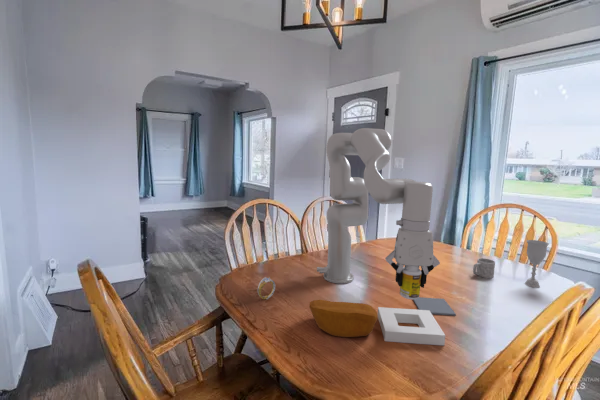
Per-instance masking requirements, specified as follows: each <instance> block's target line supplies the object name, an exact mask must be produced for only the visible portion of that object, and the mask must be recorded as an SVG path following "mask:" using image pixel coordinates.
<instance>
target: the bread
mask: <svg viewBox="0 0 600 400" xmlns="http://www.w3.org/2000/svg"><path fill="white" fill-rule="evenodd" d="M309 309H310V312H311V314H312V316H313V319H314V321H315V323H316V325H317V326H318V328H319V329H321V330H322V331H324V332H325V333H327V334H329V335H332V336H334V337H335V336H336V337H339V338H340V337H342V338H357V337H358V338H359V337H366V336H369V334H371V333H372V332H373V330H374V328H375V325H376V322H377V320H378V311H377V310H376V309H375V308H374V307H373V306H372V305H370V304H367V303H362V302H346V301H331V300H327V299H326V300H325V299H314V300H312V301H309Z"/></svg>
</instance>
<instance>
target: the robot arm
mask: <svg viewBox="0 0 600 400" xmlns="http://www.w3.org/2000/svg"><path fill="white" fill-rule="evenodd" d="M391 145H392V137H391V134H390V133H389V132H388V131H387V130H386V129H382V128H371V127H362V128H358V129H357V130H354V131H353V132H336V133H333V134H331V135H330V136H329V138H328V139H327V142H326V148H325V150H326V157H327V159H328V160H327V161H328V165H329V192H330V197H331V199H332V200H335V201H352V203H337V204H332V205H329V207H328V208H327V211H326V221H327V231H328V232H327V233H328V236H327V237H328V238H327V239H328V240H327V241H328V242H327V264H326V266H324V267H323V266H322V267H321V266H317V267H316V272H319V274H323V279H324V280H325V281H327V282H329V283H333V284H338V285H339V284H343V285H344V284H348V283H351V282H353V281H354V278H355V276H354V275H353V273H351V259H352V256H351V255H352V236H351V233H350V232H349V230H348V228H350V227H357V226H364V225H365V224H366V223H367V222H368V220H369V195H370V197H371V198H372V199H373V200H374V201H375V202H376V203H378V204H381V205H394V204H395V205H396V204H398V205H399V204H402V210H401V211H402V213H401V217H400V219H399V220H398V219H397V220H396V221H395V222H396V223H395V224H396V226H399V228H398V229H397V233H396V238H395V242H394V243H395V244H394V250H392V251H391V252H390V253H389V254H388V255H387V256H386V257H385V261H386V263H388V265H390V266H391V268H393V269H394V270H395V282H396V283H397V285H398V287H400V286H402V277H403V274H402V269H403V267H405V265H408V266H419V267H420V270H421V272H422V273H421V284H420V288H422V289H424V288H425V285H427V275H429V273H430V272H432V271H433V270H434V269H435V268H436V267H437V266H439V265H440V263H441V261H440V260H439V259H438V258H437V257H436V255H435V254H434V234H433V231H432V230H431V229H430V224H431V213H432V202H433V192H434V189H433V185H432V184H431V183H430V182H425V181H418V180H417V181H416V180H414V179H410V178H385V177H384V178H383V176H382V175H381V173H380V171H382V170H383V169H384V168H385V167H387V165H388V164H389V162H390V160H391V155H390V153H389V149H390V148H391ZM346 156H358V157H359V158H360V159H361V161H362V162H363V164H364V166H365V168H364V170H363V177H358V176H353V177H352V173H351V171H352V170H351V169H352V168H351V164H350V162H349V160H348V159H347V157H346ZM393 259H395V261H393ZM395 262H396V263H395Z"/></svg>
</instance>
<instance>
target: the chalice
mask: <svg viewBox="0 0 600 400" xmlns="http://www.w3.org/2000/svg"><path fill="white" fill-rule="evenodd" d="M526 243H527V247H526V248H527V249H526V256H527V259H528V260H529V262H530V263H531V265H532V268H531V270H532V271H531V272H530V274H531V277H528V278H527V279H526V281H525V282H524V285H526V286H527V287H532V288H541V285H540V283H539V281H538V279H536V275H537V273H536V271H537V270H538V269H537V265H538V266H539V265H540V264H541V263H542V262H543V261H544V260H545V258H546V256H547V250H548V248H547V247H548V246H549V245H550V243H548V242H546V241H542V240H536V239H528V240H526Z"/></svg>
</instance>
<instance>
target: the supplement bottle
mask: <svg viewBox="0 0 600 400" xmlns="http://www.w3.org/2000/svg"><path fill="white" fill-rule="evenodd" d="M421 270H422V269H421V268H420V266H408V265H404V266H403V269H402V274H403V277H402V286H399V295H400V296H401V298H405V299H406V300H413V299H417V298H419V297H420V293H421V292H420V291H421V286H420V284H421V273H422V272H421Z"/></svg>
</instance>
